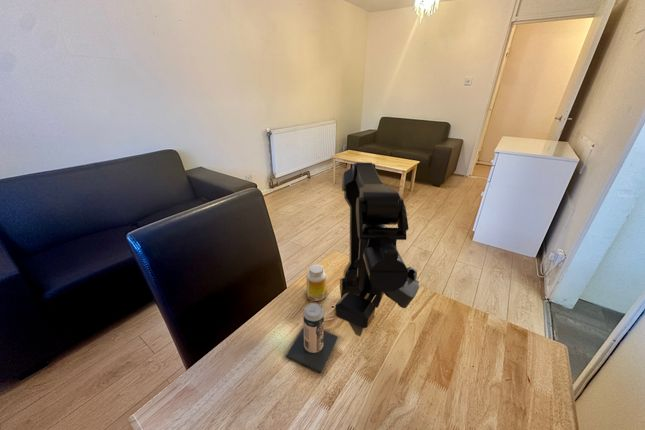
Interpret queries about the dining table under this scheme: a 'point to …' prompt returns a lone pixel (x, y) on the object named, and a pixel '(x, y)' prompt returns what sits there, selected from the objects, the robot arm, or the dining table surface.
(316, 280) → the supplement bottle
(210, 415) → the dining table surface
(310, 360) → the can mat
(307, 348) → the beer can
